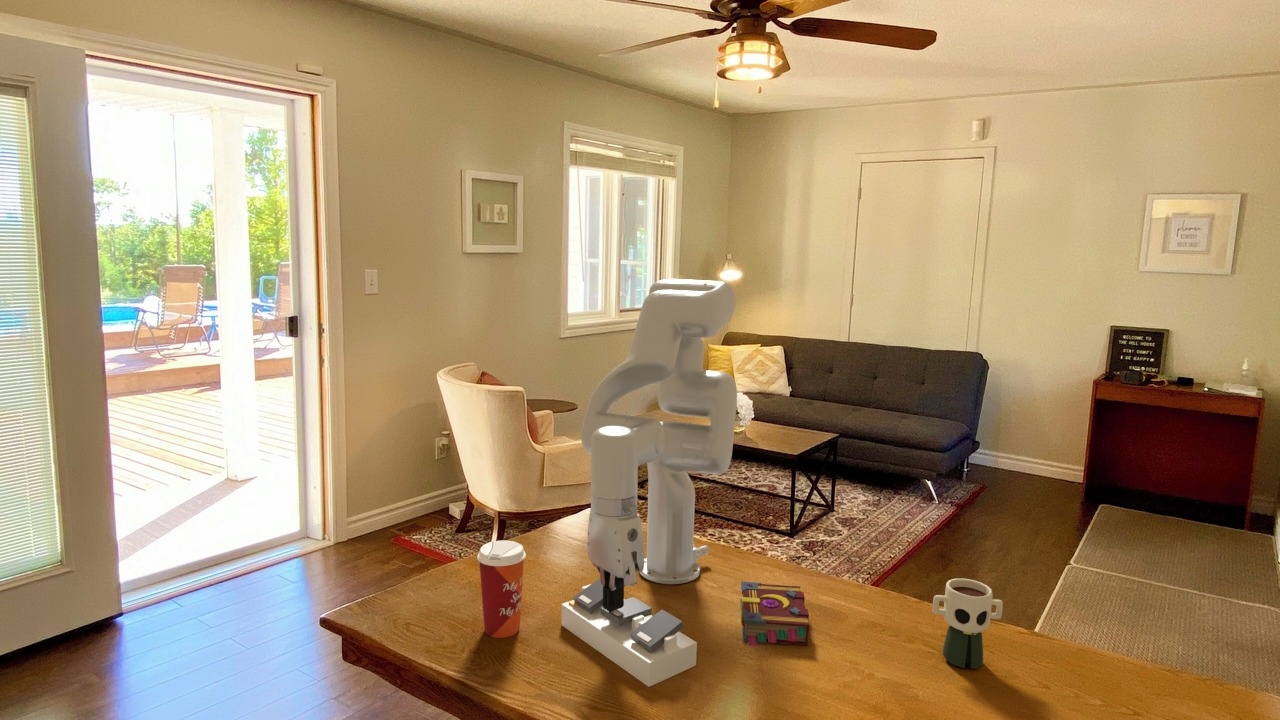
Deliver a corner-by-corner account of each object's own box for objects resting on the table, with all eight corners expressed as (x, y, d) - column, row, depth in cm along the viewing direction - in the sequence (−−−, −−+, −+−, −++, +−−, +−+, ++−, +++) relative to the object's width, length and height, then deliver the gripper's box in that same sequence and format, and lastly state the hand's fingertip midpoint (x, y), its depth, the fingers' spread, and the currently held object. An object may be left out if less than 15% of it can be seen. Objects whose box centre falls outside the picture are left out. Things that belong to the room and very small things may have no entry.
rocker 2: (663, 616, 129) (661, 608, 129) (684, 628, 125) (682, 621, 125) (631, 641, 125) (629, 633, 125) (652, 654, 121) (650, 646, 121)
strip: (596, 602, 147) (597, 571, 146) (696, 665, 126) (697, 629, 125) (552, 618, 140) (552, 586, 139) (648, 686, 120) (649, 649, 119)
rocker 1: (605, 582, 141) (603, 574, 141) (622, 592, 137) (620, 585, 137) (574, 603, 138) (572, 596, 137) (592, 615, 134) (589, 607, 133)
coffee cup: (516, 644, 131) (515, 560, 129) (470, 638, 133) (469, 555, 131) (532, 620, 139) (532, 541, 137) (489, 615, 141) (488, 536, 139)
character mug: (933, 669, 126) (939, 594, 124) (923, 647, 133) (929, 575, 131) (1003, 676, 125) (1011, 600, 123) (990, 652, 132) (997, 580, 130)
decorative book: (800, 607, 147) (801, 582, 147) (810, 652, 131) (812, 624, 131) (739, 603, 148) (740, 578, 148) (742, 647, 132) (743, 620, 132)
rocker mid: (632, 605, 136) (633, 596, 135) (652, 616, 132) (652, 607, 131) (600, 615, 131) (600, 606, 131) (619, 628, 127) (619, 619, 127)
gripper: (662, 511, 123) (659, 618, 126) (605, 485, 134) (604, 584, 138) (624, 522, 118) (623, 633, 122) (568, 494, 130) (569, 597, 133)
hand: (613, 607), depth 130 cm, fingers closed
